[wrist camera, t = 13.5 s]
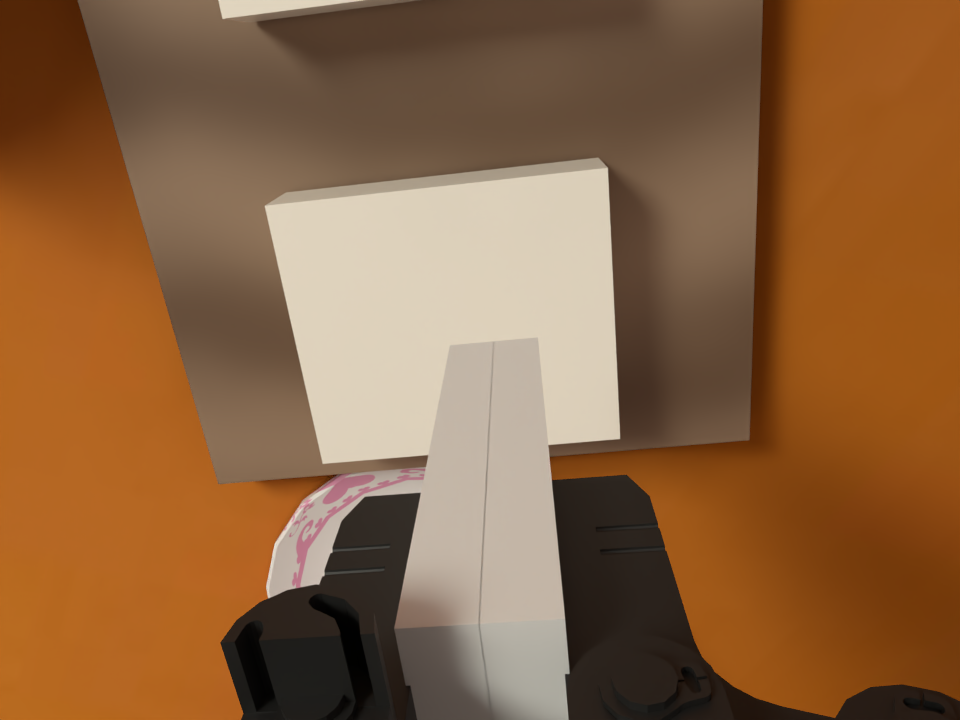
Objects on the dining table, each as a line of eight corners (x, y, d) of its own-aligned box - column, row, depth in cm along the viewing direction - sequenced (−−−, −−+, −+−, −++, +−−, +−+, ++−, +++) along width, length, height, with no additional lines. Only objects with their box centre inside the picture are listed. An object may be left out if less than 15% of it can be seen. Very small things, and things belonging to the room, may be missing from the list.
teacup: (201, 537, 25) (111, 680, 19) (509, 382, 22) (510, 494, 17) (389, 759, 29) (361, 933, 23) (671, 648, 26) (717, 814, 20)
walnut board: (-7, -388, 16) (-46, -422, 14) (759, -522, 14) (780, -570, 13) (231, 463, 24) (218, 483, 22) (737, 421, 22) (749, 439, 21)
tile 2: (597, 157, 18) (287, 191, 19) (607, 167, 17) (264, 205, 17) (610, 405, 21) (338, 429, 22) (619, 439, 19) (323, 464, 20)
